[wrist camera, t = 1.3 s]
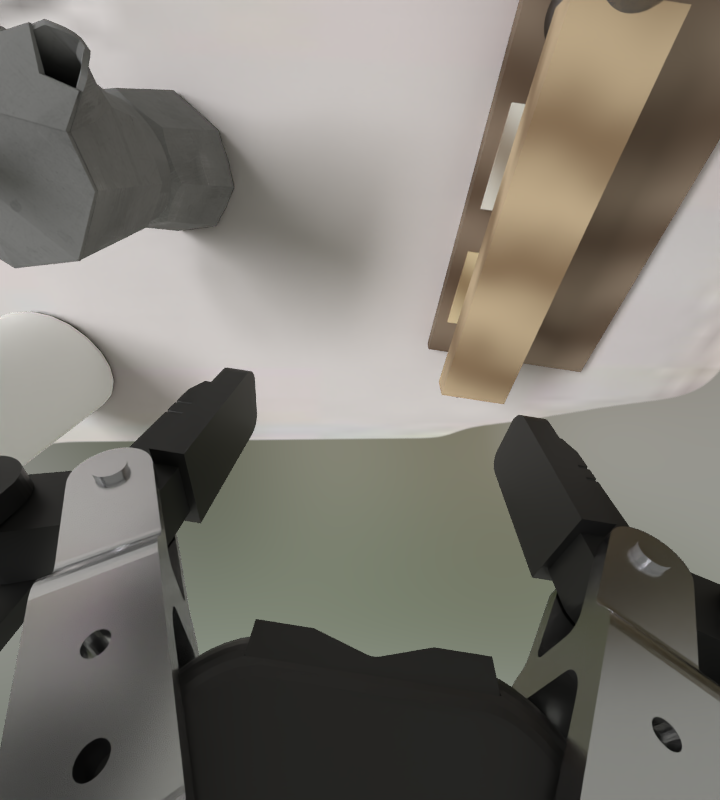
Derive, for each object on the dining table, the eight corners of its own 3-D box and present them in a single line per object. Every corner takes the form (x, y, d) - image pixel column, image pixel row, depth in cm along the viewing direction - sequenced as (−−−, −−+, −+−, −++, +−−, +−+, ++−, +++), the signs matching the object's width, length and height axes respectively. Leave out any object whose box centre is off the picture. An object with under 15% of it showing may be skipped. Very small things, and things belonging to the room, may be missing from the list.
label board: (528, -34, 19) (579, -116, 13) (783, 4, 19) (932, -63, 13) (427, 343, 32) (434, 374, 27) (574, 366, 32) (609, 400, 27)
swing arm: (594, -120, 13) (624, -164, 12) (714, -102, 13) (760, -143, 12) (438, 381, 27) (441, 394, 25) (497, 390, 27) (503, 404, 25)
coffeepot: (193, 32, 21) (-268, -318, 6) (278, 182, 26) (119, 180, 11) (62, 169, 26) (-362, 152, 12) (151, 275, 31) (-74, 361, 16)
